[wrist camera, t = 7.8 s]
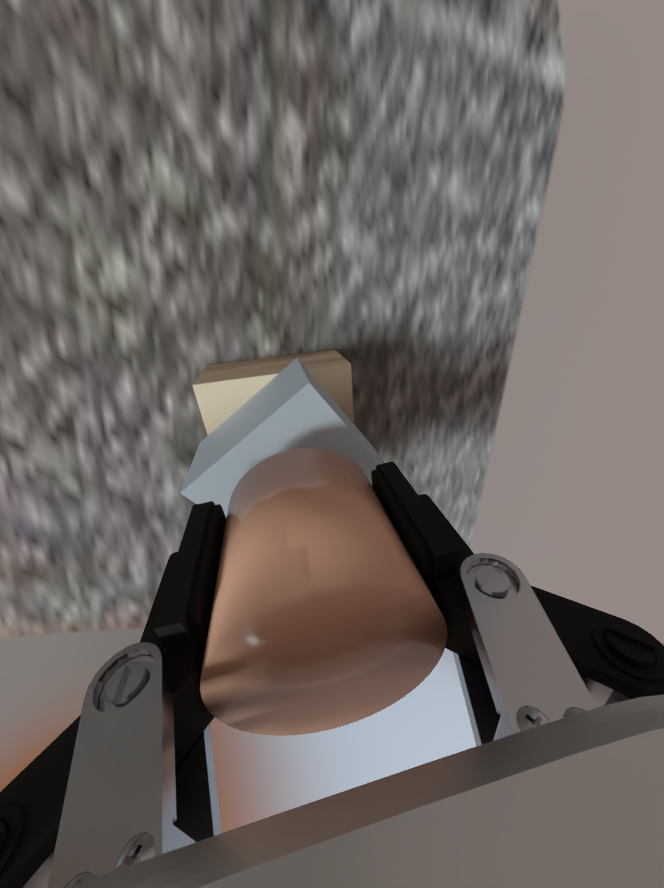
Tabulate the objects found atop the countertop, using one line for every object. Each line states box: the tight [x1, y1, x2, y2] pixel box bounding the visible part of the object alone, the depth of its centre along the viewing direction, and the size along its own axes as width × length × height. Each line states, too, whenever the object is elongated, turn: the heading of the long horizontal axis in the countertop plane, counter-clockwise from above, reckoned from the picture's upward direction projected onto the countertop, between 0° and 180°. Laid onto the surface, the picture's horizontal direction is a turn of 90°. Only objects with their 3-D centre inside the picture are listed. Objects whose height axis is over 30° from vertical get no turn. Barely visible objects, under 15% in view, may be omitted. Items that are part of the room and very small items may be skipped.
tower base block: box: [193, 349, 354, 435], centre depth 17 cm, size 7×7×4 cm
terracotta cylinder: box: [200, 448, 447, 736], centre depth 8 cm, size 5×5×5 cm
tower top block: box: [180, 358, 384, 517], centre depth 14 cm, size 6×6×4 cm
